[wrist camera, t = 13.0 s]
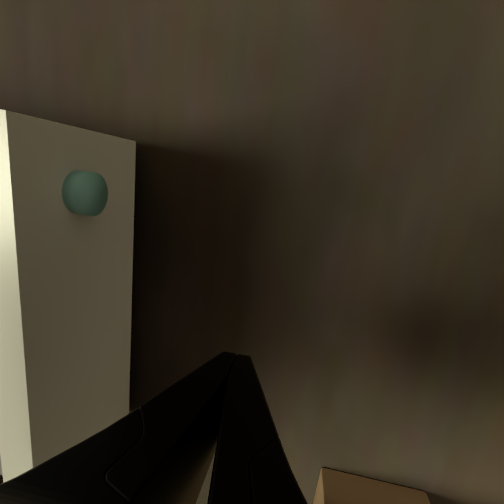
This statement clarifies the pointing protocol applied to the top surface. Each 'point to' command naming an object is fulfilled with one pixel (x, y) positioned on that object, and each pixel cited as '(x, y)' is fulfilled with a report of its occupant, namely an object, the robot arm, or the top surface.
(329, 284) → the top surface
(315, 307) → the top surface
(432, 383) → the top surface
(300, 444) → the top surface
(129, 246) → the tray
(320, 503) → the pedestal
